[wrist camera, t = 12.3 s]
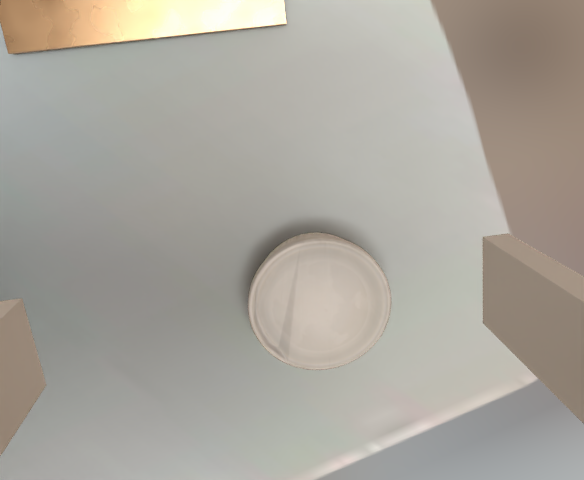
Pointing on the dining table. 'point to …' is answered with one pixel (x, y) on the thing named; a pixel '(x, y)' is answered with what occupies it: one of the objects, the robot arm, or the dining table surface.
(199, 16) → the plaque
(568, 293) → the robot arm
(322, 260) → the ramekin
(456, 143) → the dining table surface
